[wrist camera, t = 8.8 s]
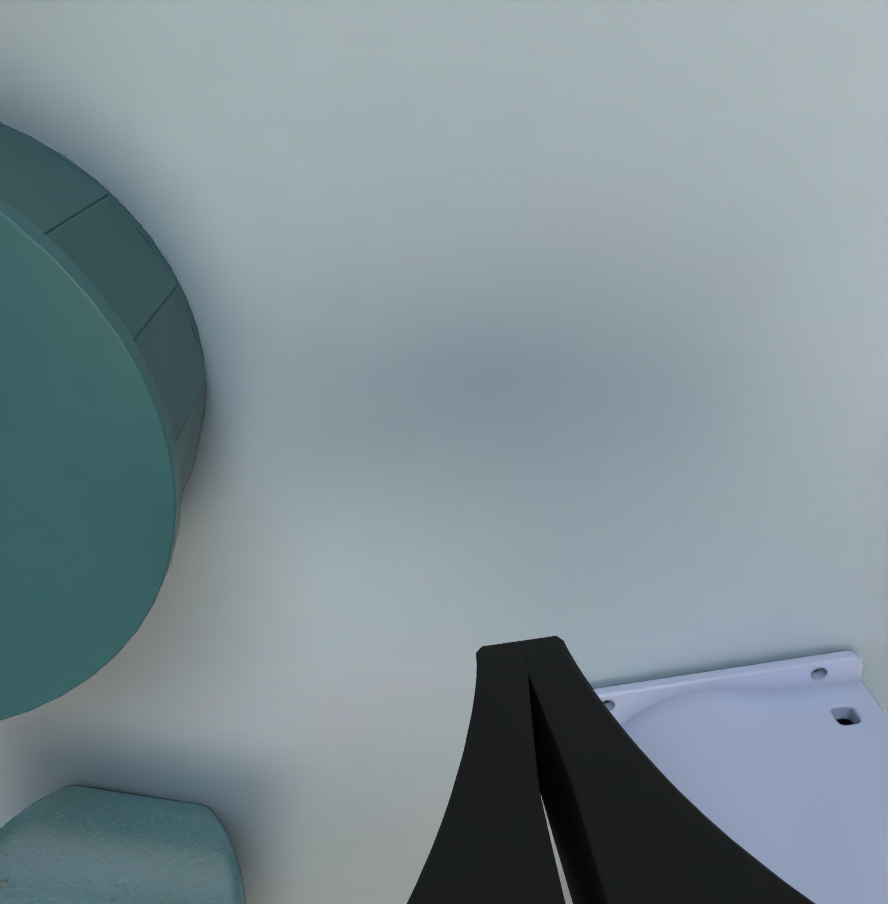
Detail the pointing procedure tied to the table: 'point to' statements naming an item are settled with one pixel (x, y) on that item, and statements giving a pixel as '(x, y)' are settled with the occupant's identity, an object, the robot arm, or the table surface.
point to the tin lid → (73, 474)
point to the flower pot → (116, 852)
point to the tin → (115, 273)
